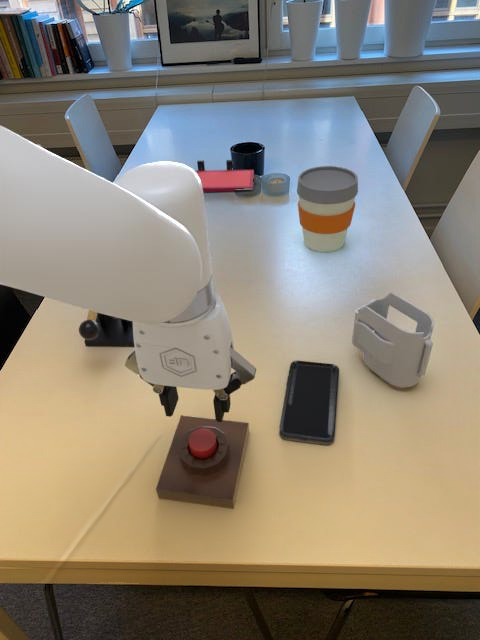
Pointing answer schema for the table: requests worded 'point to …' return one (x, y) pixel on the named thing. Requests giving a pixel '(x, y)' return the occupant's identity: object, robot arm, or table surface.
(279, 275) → the table surface
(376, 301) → the cable organizer
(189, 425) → the button block
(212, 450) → the button
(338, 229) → the reusable coffee cup
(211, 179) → the red board with handle
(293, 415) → the phone
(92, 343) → the switch bracket
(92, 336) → the switch lever
